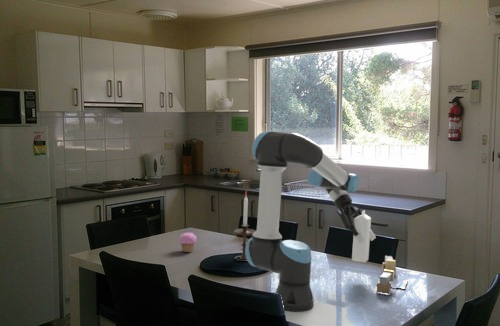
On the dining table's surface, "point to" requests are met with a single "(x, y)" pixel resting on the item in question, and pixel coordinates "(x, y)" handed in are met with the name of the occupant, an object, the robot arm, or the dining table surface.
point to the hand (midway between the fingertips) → (368, 240)
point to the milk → (363, 225)
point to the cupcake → (187, 241)
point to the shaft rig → (386, 275)
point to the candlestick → (244, 229)
